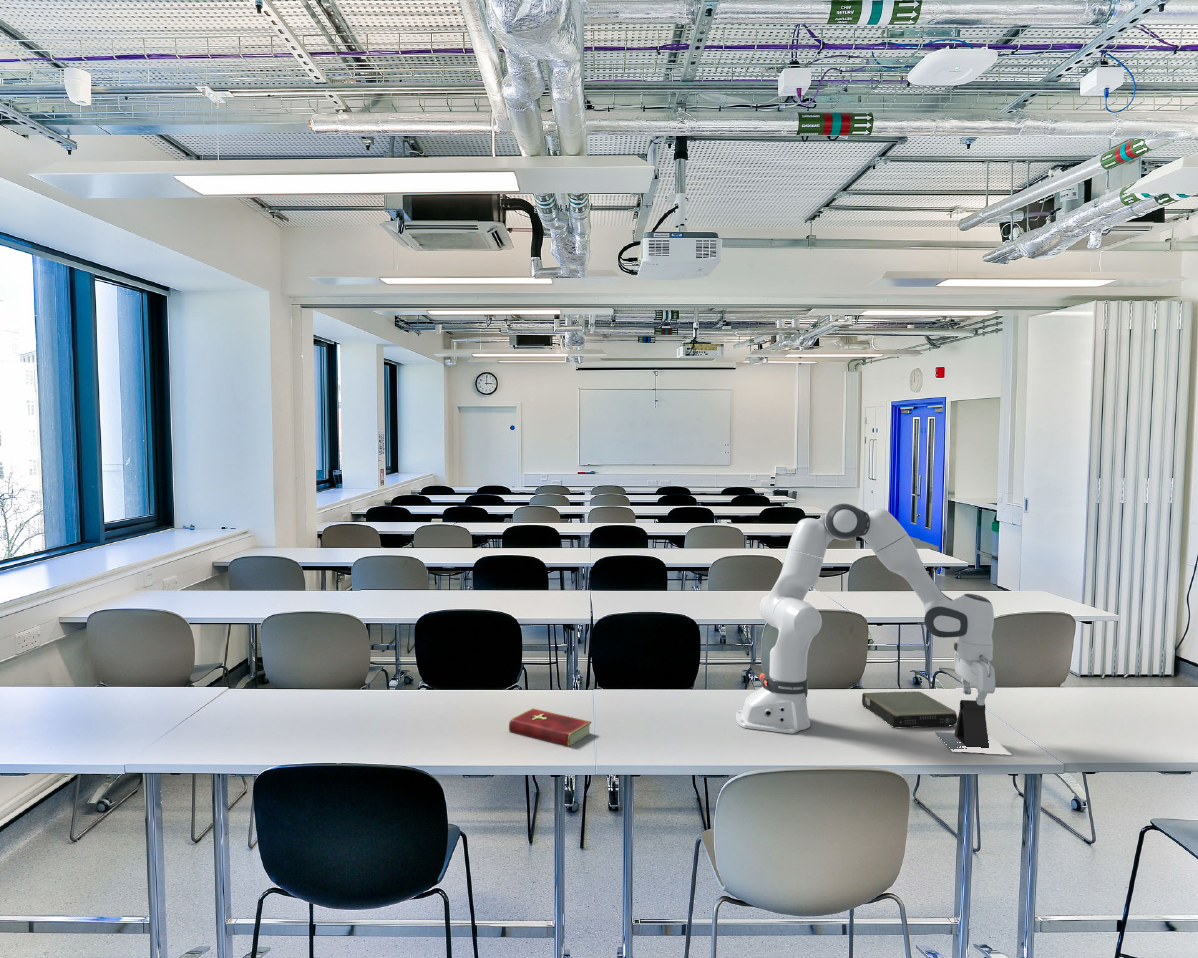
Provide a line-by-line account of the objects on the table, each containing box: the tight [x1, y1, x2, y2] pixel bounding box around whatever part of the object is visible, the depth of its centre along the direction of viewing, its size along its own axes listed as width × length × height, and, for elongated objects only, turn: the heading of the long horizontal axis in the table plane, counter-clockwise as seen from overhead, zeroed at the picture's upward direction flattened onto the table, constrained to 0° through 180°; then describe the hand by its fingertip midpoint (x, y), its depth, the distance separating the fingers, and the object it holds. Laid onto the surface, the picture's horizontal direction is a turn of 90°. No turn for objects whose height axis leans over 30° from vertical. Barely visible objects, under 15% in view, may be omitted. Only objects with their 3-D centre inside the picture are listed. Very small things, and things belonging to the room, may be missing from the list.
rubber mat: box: [934, 731, 989, 750], centre depth 215 cm, size 16×14×1 cm
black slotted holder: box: [954, 699, 989, 748], centre depth 215 cm, size 9×6×12 cm, turn 176°
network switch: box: [861, 691, 958, 728], centre depth 238 cm, size 23×24×5 cm
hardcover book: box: [508, 707, 592, 748], centre depth 218 cm, size 12×21×4 cm, turn 60°
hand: (973, 698), depth 214 cm, fingers open, 8 cm apart
